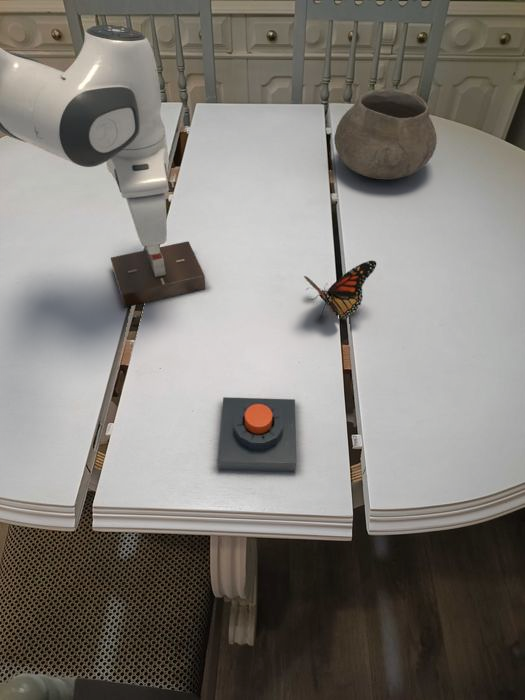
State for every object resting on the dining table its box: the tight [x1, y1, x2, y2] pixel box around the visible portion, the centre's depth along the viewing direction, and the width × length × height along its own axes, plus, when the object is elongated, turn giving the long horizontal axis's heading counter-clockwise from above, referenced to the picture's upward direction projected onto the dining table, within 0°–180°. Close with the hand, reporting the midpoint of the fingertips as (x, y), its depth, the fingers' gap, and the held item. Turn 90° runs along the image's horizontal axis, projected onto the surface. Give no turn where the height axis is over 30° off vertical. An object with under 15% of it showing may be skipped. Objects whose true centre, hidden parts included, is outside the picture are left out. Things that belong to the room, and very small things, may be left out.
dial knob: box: [145, 246, 166, 277], centre depth 89 cm, size 6×2×4 cm, turn 21°
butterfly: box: [303, 260, 377, 320], centre depth 85 cm, size 12×10×10 cm
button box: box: [217, 396, 298, 472], centre depth 71 cm, size 10×10×4 cm
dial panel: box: [110, 241, 207, 308], centre depth 92 cm, size 14×10×3 cm
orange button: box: [245, 404, 273, 434], centre depth 69 cm, size 4×4×2 cm
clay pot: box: [333, 88, 438, 180], centre depth 113 cm, size 22×21×15 cm
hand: (149, 233), depth 86 cm, fingers open, 8 cm apart
